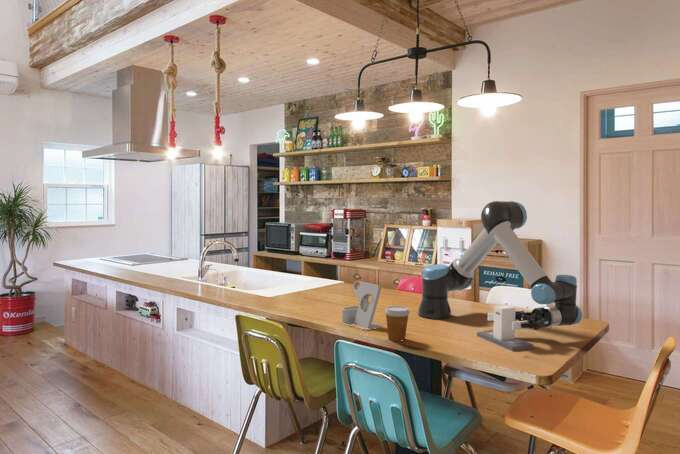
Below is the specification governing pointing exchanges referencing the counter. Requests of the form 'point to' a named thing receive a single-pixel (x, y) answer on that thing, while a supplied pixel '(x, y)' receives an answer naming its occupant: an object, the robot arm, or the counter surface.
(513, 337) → the block
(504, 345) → the power strip
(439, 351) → the counter surface
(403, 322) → the disposable coffee cup
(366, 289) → the phone holder
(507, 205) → the robot arm
